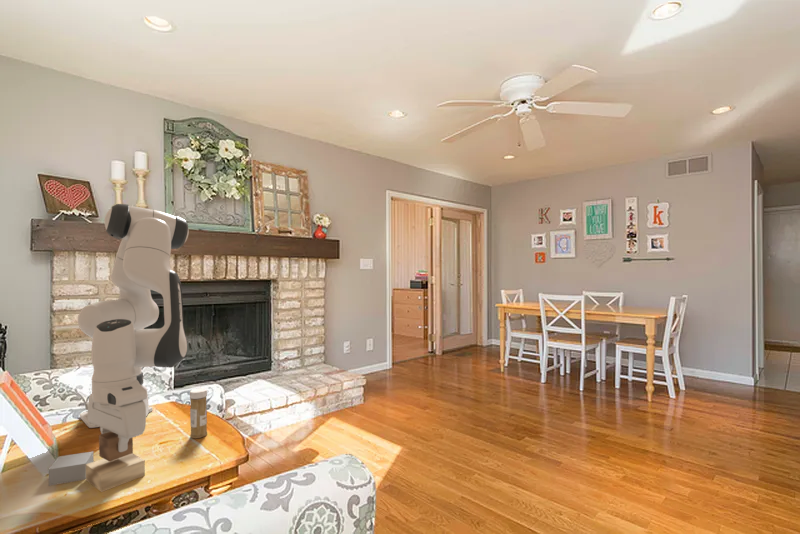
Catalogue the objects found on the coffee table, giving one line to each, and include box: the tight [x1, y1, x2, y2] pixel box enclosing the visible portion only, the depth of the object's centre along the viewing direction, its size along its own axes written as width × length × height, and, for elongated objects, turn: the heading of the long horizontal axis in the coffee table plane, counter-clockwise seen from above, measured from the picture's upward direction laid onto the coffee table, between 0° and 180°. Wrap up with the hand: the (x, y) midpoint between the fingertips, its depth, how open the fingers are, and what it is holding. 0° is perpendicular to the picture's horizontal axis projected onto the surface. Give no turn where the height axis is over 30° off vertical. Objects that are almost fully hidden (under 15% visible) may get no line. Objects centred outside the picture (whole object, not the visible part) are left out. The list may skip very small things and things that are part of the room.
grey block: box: [48, 451, 95, 486], centre depth 102 cm, size 7×7×4 cm
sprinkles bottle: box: [189, 388, 208, 439], centre depth 125 cm, size 5×5×14 cm
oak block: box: [85, 452, 146, 493], centre depth 101 cm, size 9×9×4 cm
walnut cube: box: [98, 432, 134, 461], centre depth 101 cm, size 5×5×5 cm
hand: (115, 447), depth 101 cm, fingers closed on walnut cube, 5 cm apart
